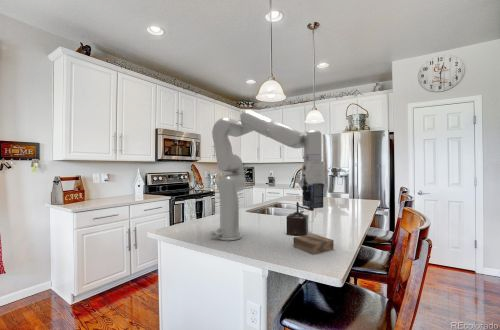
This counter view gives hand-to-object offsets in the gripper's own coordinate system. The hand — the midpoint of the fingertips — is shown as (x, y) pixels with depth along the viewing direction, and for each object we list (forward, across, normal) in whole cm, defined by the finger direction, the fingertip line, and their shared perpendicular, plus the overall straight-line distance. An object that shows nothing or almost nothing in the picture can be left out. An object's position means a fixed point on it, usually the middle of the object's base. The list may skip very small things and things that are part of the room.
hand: (312, 199), depth 110 cm
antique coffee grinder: (+21, +12, +20) cm, 32 cm away
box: (+3, 0, 0) cm, 3 cm away
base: (+21, 0, 0) cm, 21 cm away
